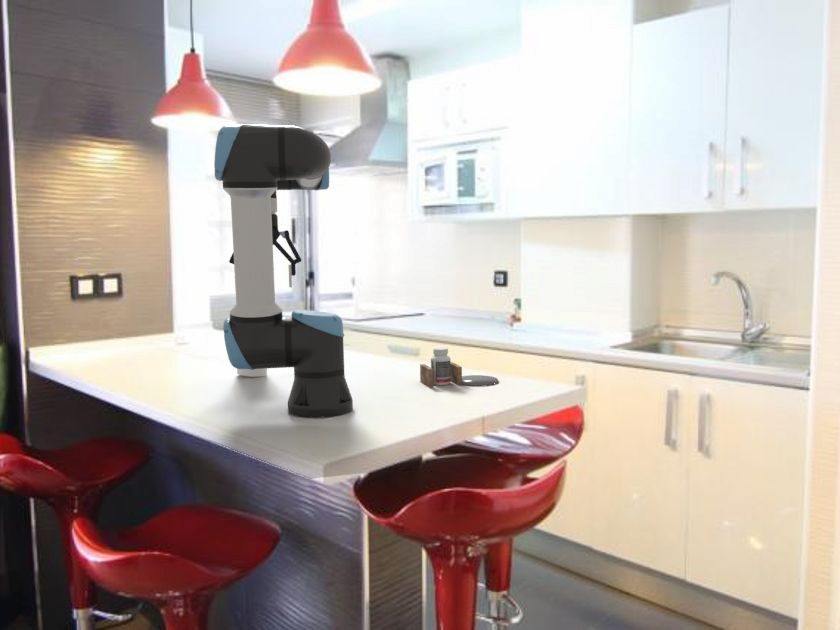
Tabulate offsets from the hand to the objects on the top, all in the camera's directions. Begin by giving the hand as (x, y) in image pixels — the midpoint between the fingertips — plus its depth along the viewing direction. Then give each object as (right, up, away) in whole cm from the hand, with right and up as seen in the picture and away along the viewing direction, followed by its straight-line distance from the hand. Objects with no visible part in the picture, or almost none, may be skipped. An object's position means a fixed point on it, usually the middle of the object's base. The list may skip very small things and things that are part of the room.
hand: (266, 287), depth 203 cm
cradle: (+50, -27, -10) cm, 58 cm away
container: (-6, -26, +6) cm, 27 cm away
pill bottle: (+50, -27, -10) cm, 58 cm away
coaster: (+60, -26, -8) cm, 66 cm away
